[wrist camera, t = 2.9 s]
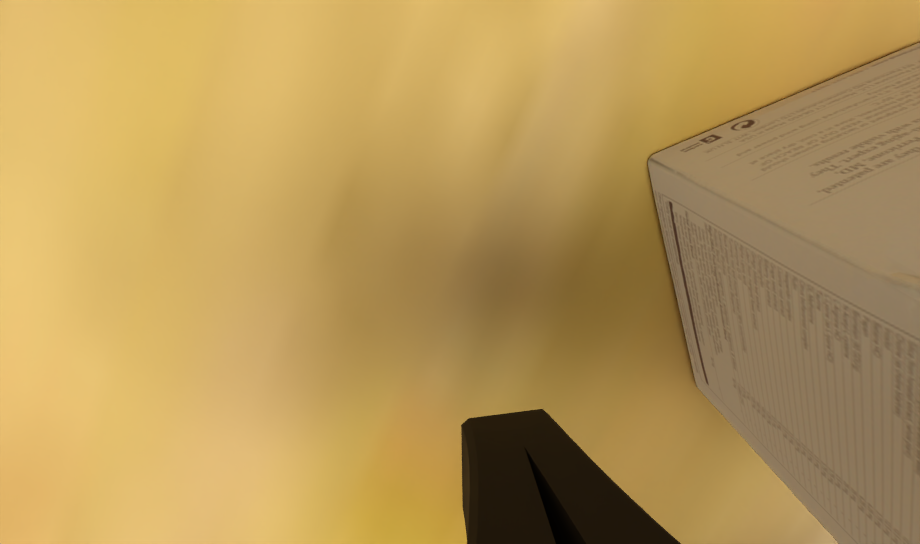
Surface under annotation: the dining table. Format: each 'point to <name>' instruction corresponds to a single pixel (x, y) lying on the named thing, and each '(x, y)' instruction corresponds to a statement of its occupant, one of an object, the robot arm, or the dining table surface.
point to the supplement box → (811, 289)
